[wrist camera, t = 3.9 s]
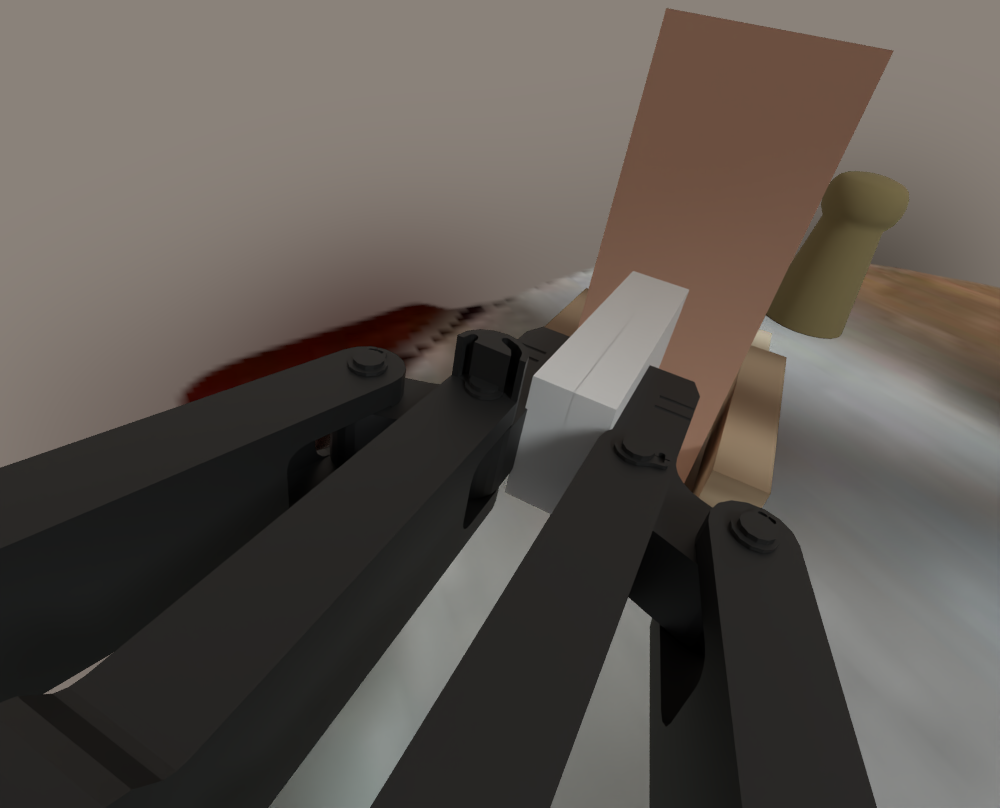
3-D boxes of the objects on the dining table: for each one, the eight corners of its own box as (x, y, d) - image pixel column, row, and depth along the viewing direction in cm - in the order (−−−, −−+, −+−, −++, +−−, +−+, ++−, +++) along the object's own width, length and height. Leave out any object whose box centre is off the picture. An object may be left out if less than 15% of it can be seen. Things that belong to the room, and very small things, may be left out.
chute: (623, 290, 43) (639, 239, 41) (768, 339, 40) (794, 287, 38) (475, 452, 25) (489, 377, 22) (724, 568, 22) (770, 493, 19)
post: (589, 383, 30) (700, 22, 21) (700, 427, 28) (875, 56, 19) (546, 440, 25) (666, 8, 16) (677, 497, 23) (893, 50, 14)
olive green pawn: (748, 308, 44) (816, 162, 38) (784, 297, 48) (851, 162, 42) (821, 344, 41) (908, 191, 35) (854, 330, 45) (938, 188, 38)
